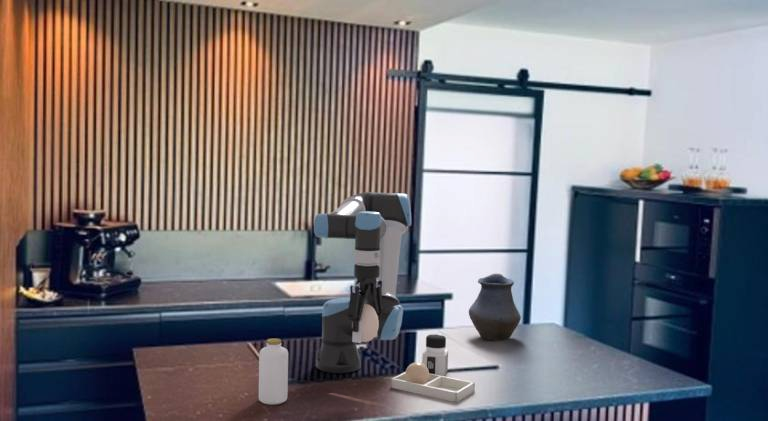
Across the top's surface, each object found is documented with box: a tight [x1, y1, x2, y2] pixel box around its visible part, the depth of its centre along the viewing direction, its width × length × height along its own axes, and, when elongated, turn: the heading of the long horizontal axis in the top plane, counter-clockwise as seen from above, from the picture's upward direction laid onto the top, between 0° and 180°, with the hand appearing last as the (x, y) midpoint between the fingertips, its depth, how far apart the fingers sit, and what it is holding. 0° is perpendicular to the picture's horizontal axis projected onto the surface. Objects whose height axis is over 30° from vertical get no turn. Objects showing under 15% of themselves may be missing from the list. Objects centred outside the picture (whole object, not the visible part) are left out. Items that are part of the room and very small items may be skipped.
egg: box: [360, 304, 379, 343], centre depth 219 cm, size 8×8×11 cm
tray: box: [390, 371, 476, 403], centre depth 225 cm, size 23×12×4 cm, turn 59°
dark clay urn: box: [468, 273, 522, 341], centre depth 293 cm, size 21×22×25 cm
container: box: [421, 333, 449, 377], centre depth 244 cm, size 8×8×13 cm
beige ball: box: [405, 361, 429, 385], centre depth 228 cm, size 7×7×7 cm
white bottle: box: [258, 338, 289, 406], centre depth 213 cm, size 8×8×18 cm
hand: (364, 339), depth 219 cm, fingers closed on egg, 8 cm apart
